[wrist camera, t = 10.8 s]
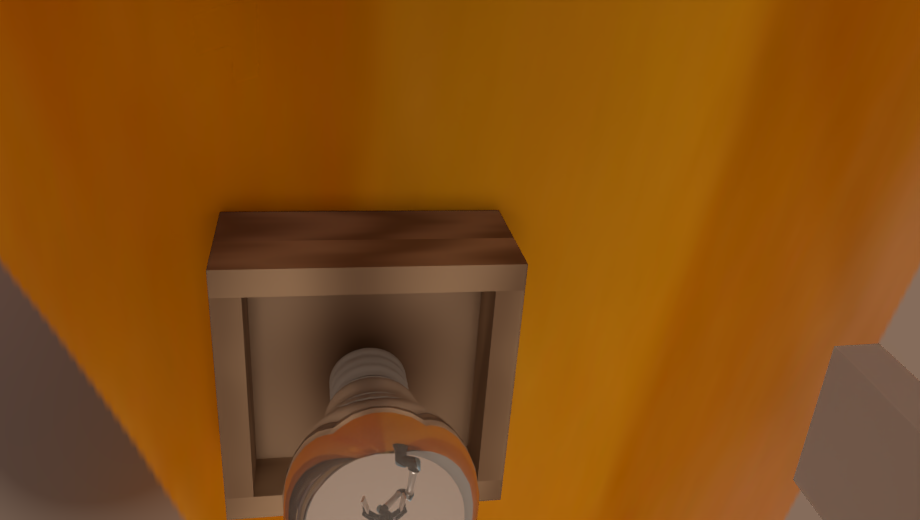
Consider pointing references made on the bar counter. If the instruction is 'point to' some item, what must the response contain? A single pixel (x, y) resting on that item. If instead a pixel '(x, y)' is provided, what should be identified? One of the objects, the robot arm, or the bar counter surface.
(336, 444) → the light bulb
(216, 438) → the bar counter surface
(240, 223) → the walnut box
